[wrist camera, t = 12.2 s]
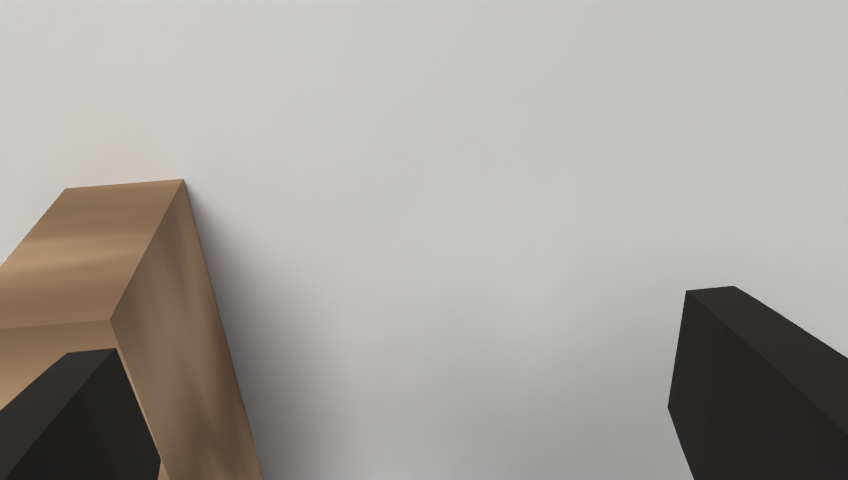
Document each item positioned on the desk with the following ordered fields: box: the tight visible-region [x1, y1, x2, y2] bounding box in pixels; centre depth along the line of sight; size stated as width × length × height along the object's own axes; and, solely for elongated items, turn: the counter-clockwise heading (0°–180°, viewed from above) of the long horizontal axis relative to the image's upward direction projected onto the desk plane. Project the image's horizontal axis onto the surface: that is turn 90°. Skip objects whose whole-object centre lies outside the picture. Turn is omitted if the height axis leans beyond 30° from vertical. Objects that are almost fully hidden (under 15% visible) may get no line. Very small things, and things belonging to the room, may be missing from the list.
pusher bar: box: [0, 179, 264, 480], centre depth 18 cm, size 12×3×6 cm, turn 3°
